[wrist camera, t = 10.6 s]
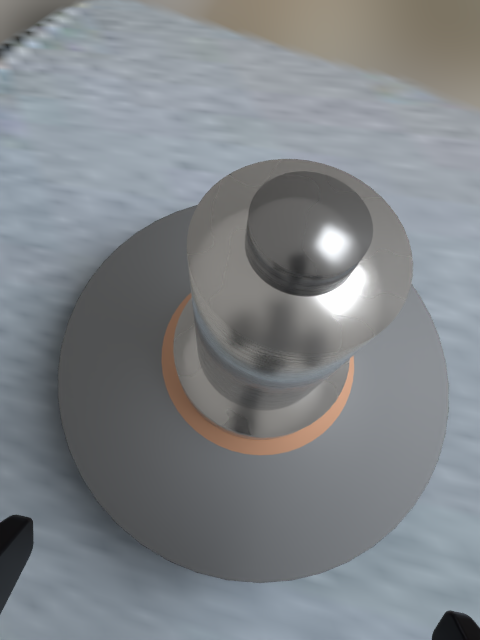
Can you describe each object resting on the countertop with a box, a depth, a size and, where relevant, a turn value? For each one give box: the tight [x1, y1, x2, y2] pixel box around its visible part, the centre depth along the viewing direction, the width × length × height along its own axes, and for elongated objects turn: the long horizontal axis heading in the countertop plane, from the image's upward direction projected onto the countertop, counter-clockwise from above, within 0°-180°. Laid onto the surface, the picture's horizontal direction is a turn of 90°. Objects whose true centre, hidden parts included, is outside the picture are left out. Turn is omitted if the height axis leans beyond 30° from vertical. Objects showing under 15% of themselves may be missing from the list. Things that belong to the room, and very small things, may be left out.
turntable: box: [58, 205, 449, 583], centre depth 18 cm, size 18×18×1 cm
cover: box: [173, 159, 413, 440], centre depth 13 cm, size 8×8×10 cm
